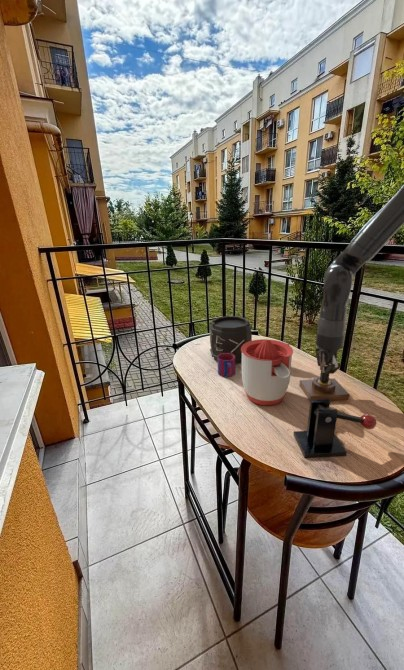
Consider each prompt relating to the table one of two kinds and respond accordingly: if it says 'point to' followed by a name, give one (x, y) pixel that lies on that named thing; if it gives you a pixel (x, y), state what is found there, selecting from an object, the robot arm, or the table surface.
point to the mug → (226, 364)
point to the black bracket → (320, 433)
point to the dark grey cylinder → (229, 336)
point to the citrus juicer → (266, 370)
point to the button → (323, 383)
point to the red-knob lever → (353, 418)
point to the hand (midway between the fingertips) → (323, 381)
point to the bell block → (323, 390)
